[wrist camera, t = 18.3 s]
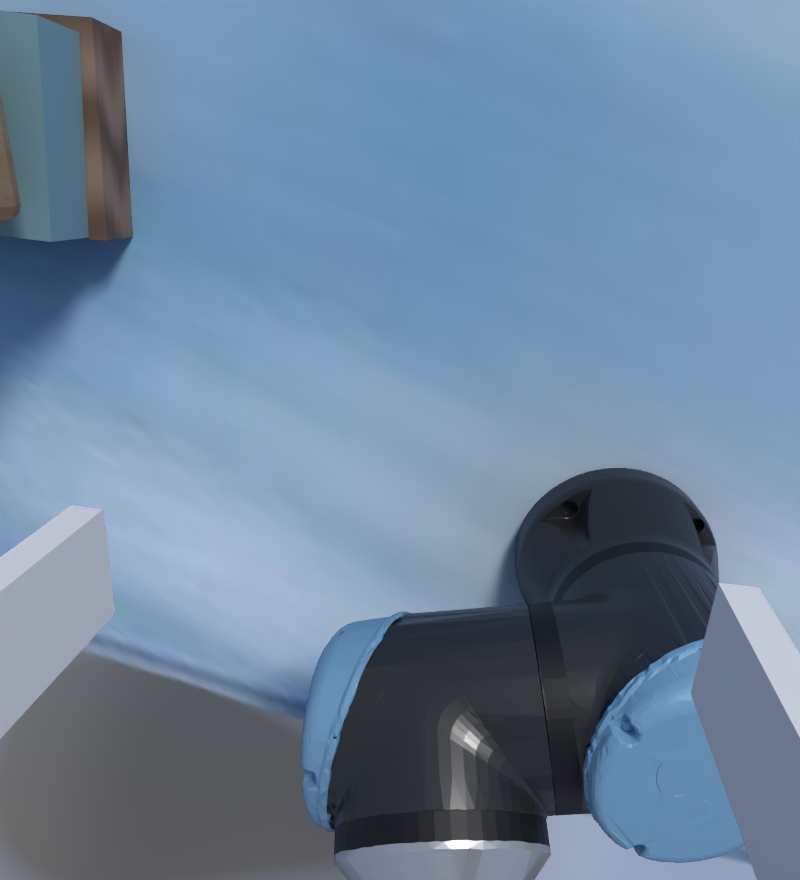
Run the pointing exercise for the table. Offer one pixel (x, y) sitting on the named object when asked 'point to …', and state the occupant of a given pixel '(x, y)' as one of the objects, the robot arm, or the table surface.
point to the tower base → (103, 127)
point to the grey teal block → (44, 127)
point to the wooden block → (7, 175)
